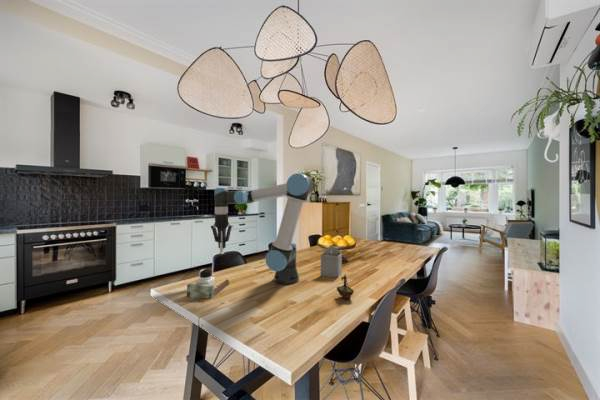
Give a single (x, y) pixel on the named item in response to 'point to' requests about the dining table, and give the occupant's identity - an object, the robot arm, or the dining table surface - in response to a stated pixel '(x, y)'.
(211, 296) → the guide channel
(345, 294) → the figurine
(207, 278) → the medicine bottle
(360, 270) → the dining table surface
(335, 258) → the grey box
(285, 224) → the robot arm
